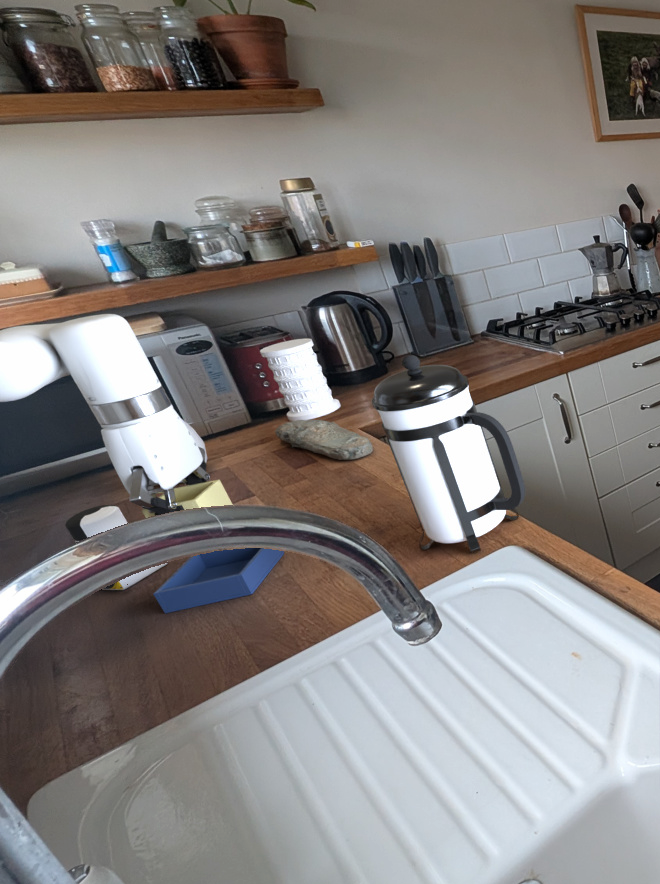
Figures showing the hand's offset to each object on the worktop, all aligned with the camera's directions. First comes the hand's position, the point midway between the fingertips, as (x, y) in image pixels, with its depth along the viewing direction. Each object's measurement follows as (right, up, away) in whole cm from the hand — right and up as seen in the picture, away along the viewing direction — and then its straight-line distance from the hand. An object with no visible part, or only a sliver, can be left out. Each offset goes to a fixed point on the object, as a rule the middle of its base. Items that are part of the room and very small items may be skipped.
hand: (195, 518), depth 98 cm
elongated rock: (-18, +9, +53) cm, 56 cm away
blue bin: (+1, -10, +4) cm, 11 cm away
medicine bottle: (-18, -11, +9) cm, 23 cm away
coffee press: (+37, -4, +10) cm, 38 cm away
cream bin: (0, -1, 0) cm, 1 cm away
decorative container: (-36, +17, +76) cm, 86 cm away
